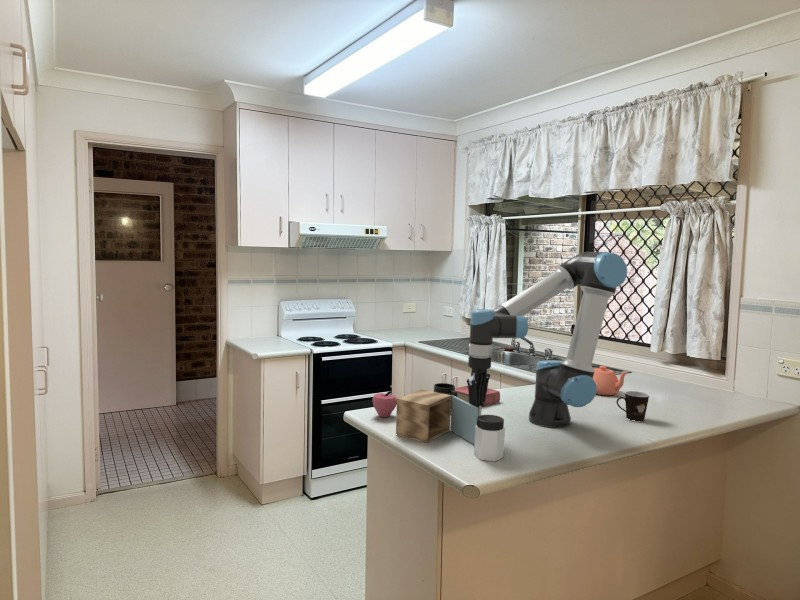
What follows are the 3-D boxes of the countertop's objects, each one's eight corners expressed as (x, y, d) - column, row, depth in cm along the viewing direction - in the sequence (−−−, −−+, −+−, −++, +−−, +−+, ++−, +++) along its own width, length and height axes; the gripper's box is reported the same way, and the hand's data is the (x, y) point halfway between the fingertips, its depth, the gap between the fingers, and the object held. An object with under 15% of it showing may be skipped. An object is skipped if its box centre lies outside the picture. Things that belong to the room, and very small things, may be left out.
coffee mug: (646, 417, 218) (648, 392, 218) (648, 424, 210) (650, 398, 209) (614, 413, 222) (616, 389, 221) (615, 420, 214) (617, 394, 213)
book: (478, 409, 224) (478, 397, 223) (450, 400, 235) (450, 389, 235) (500, 403, 233) (501, 391, 233) (473, 395, 245) (473, 384, 244)
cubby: (449, 430, 196) (451, 395, 195) (426, 442, 183) (427, 405, 181) (420, 423, 202) (422, 389, 201) (395, 434, 189) (397, 398, 188)
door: (452, 429, 195) (453, 395, 194) (476, 444, 181) (478, 407, 180) (449, 430, 195) (451, 395, 194) (473, 444, 181) (475, 407, 180)
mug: (445, 416, 212) (446, 391, 211) (429, 407, 223) (430, 384, 222) (463, 413, 216) (464, 389, 215) (446, 405, 227) (447, 382, 226)
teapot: (634, 395, 252) (636, 368, 251) (618, 401, 242) (620, 373, 241) (588, 385, 268) (590, 360, 267) (572, 390, 258) (574, 364, 257)
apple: (385, 411, 215) (386, 386, 214) (401, 417, 209) (402, 390, 208) (367, 416, 209) (367, 390, 208) (382, 422, 202) (383, 395, 201)
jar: (484, 449, 178) (486, 412, 177) (507, 456, 173) (509, 418, 172) (469, 456, 172) (471, 418, 170) (492, 463, 166) (494, 424, 165)
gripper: (478, 351, 193) (474, 417, 196) (460, 357, 183) (457, 427, 185) (498, 354, 189) (494, 422, 192) (481, 360, 178) (477, 432, 181)
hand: (476, 424), depth 188 cm, fingers closed
